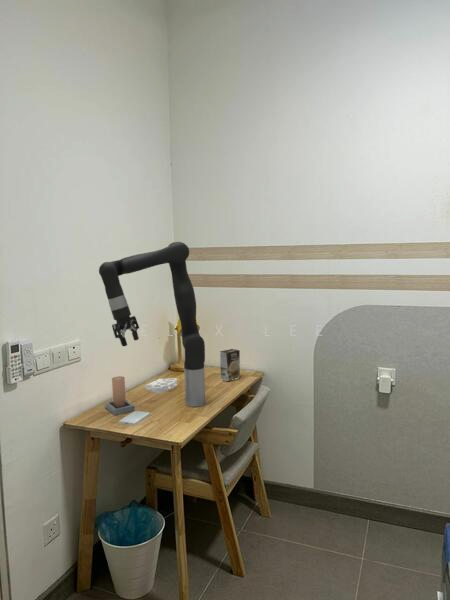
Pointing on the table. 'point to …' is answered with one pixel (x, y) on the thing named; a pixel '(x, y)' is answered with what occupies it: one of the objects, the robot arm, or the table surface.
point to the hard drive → (134, 418)
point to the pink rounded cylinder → (118, 392)
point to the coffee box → (230, 364)
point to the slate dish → (118, 411)
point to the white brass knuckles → (162, 385)
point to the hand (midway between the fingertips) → (131, 342)
